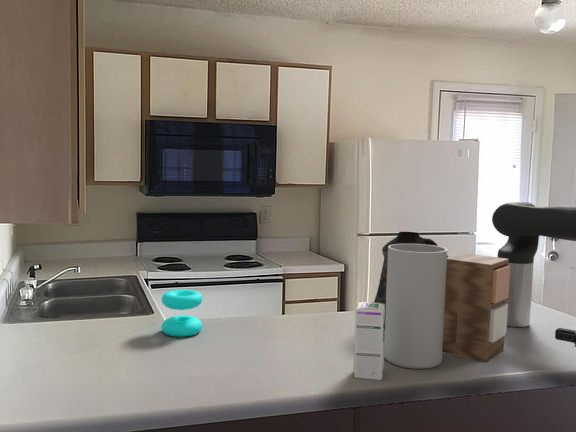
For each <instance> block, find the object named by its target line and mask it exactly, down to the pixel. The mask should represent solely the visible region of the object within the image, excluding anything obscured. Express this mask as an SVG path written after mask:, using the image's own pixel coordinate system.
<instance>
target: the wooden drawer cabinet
mask: <svg viewBox="0 0 576 432" xmlns="http://www.w3.org/2000/svg"><path fill="white" fill-rule="evenodd" d="M502 265H505V266H509V259H506V258H498V256H489V255H481V254H473V253H467V252H466V253H465V252H462V253H458V254H455V255H451V256H448V257H447V265H446V286H445V306H444V326H443V346H442V353H445V354H449V355H452V356H457V357H460V358H465V359H468V360H473V361H476V362H477V361H478V362H481V363H488V362H489V361H491V360H492V359H494V358H495V357H497V356H498V355H500V354H501V353H502V352H504V350H505V349H504V347H505V336H503V337H502V338H500V339H498V340H497V341H495V342H493V343H492V342H489V326H490V308H492V307H494V306H496V305H499V304H501V303H505V304H506V300H507V298H506V299H504V300H501V301H499V302H497V303H491V291H492V273H493V268H496V267H499V266H502Z"/></svg>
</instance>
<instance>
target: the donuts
mask: <svg viewBox="0 0 576 432" xmlns="http://www.w3.org/2000/svg"><path fill="white" fill-rule="evenodd" d="M202 302H203V296H202V294H201V293H200V292H199V291H197V290H191V289H174V290H170V291H167V292H165V293H163V295H162V296H161V303H162V305H163V306H165V308H168V309H170V310H178V311H185V310H192V309H195V308H196V307H199V306H200V305H201V304H202ZM202 329H203V323H202V321H201V320H200V319H199V318H197V317H196V316H192V315H184V314H183V315H175V316H170V317H168V318H166V319H165V320H164V321H163V322H162V324H161V331H162V332H163V334H165V335H167V336H170V337H174V338H175V337H176V338H186V337H192V336H196V335H197V334H199V333H201V331H202Z"/></svg>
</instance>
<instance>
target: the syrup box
mask: <svg viewBox="0 0 576 432" xmlns="http://www.w3.org/2000/svg"><path fill="white" fill-rule="evenodd" d="M354 311H355V312H354V317H355V318H354V351H353V352H354V360H353V363H354V364H353V376H354V378H356V379H362V380H363V379H364V380H374V381H376V380H378V381H382V379H383V377H384V370H385V369H384V365H385V363H384V362H385V356H384V341H385V331H384V325H385V304H383V303H377V302H374V301H358V302H357V304H356V306H355V310H354Z"/></svg>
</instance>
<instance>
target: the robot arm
mask: <svg viewBox="0 0 576 432" xmlns="http://www.w3.org/2000/svg"><path fill="white" fill-rule="evenodd" d="M491 221H492V222H491V223H492V226H493V227H494V229H495V230H496V232H497V233H499V234H501V235H502V236H505V237H507V241H506V242H505V244H504V245H503V246H502V247H500V248H499V249H498V250H497V257H498V258H506V259H509V266H510V277H509V294H508V298H507V300H506V304H508V311H507V327H514V328H522V327H523V328H524V327H528V326H530V321H531V308H532V295H533V294H532V293H533V281H534V280H533V279H534V260H535V256H536V253H537V252H538V247H539V240H540V237H546V238H552V239H555V240H556V239H558V240H564V241H570V242H571V241H572V242H576V203H575V204H562V205H561V204H560V205H551V206H536V205H535V204H533V203H531V202H529V201H527V202H525V201H516V202H506V203H503V204H500V206H497V208H496V209H495V210H494V212H493V213H492V216H491ZM554 333H555V334H554V338H555V340H557V341H563V342H567V343H568V342H569V343H573V344H574V346H575V347H576V330H573V329H568V328H562V327H558V328H556V329H555V332H554Z"/></svg>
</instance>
